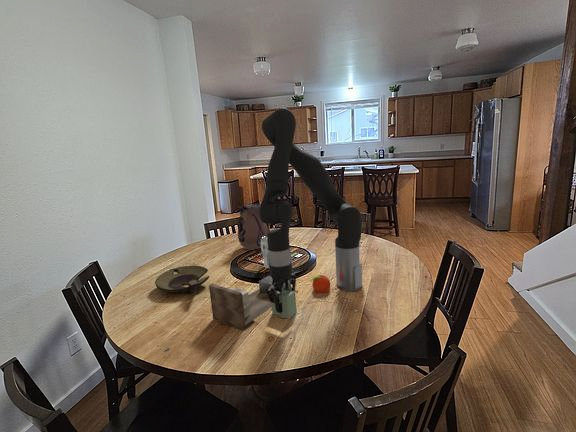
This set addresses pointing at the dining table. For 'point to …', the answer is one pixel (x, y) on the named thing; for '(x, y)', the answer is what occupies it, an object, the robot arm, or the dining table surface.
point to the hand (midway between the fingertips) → (284, 308)
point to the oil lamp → (182, 279)
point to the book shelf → (237, 306)
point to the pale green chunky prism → (286, 305)
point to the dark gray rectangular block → (265, 284)
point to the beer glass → (265, 251)
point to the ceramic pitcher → (251, 227)
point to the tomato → (321, 283)
